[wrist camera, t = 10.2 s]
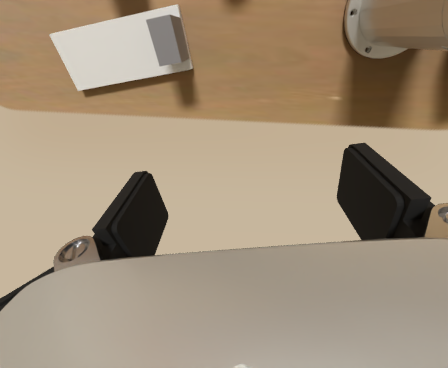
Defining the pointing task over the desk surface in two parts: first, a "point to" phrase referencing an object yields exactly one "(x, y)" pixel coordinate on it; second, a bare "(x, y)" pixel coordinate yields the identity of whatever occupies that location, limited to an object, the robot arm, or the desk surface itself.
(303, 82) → the desk surface
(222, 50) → the desk surface
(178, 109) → the desk surface
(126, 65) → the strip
